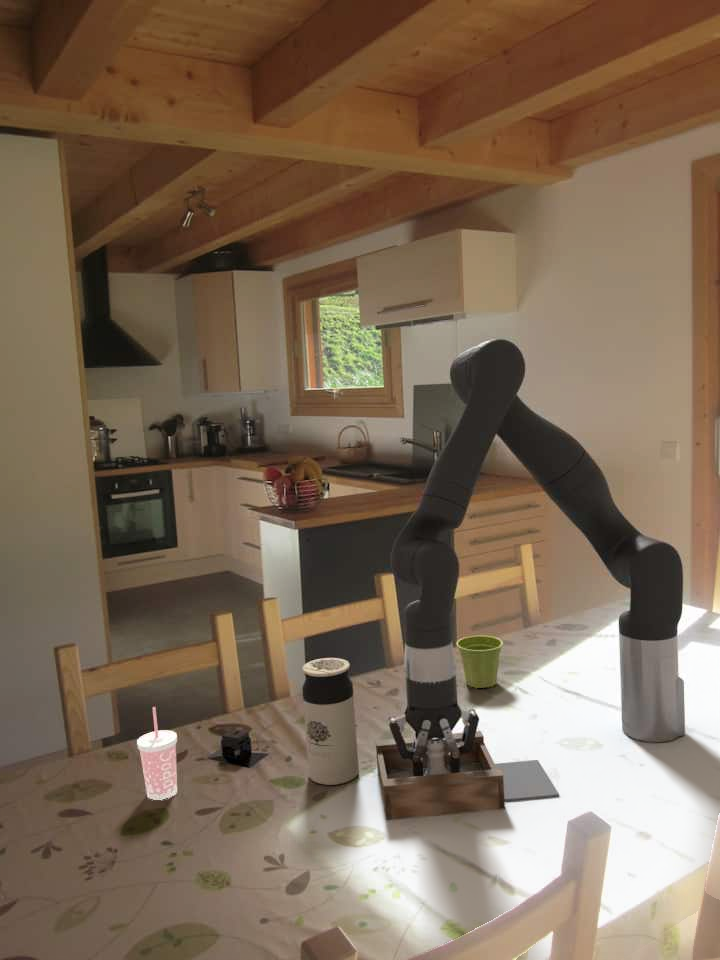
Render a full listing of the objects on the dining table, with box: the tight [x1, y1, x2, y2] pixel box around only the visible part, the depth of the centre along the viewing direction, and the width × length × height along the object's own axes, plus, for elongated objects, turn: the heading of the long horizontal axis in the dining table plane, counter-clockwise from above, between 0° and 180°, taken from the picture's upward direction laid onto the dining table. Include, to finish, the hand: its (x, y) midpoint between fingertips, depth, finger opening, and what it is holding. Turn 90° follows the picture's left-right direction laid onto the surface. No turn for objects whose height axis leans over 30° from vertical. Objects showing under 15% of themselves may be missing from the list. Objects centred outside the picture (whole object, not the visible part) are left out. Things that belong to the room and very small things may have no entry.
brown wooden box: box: [375, 730, 506, 821], centre depth 118 cm, size 17×15×5 cm
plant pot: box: [456, 635, 504, 689], centre depth 159 cm, size 9×9×9 cm
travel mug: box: [301, 657, 360, 786], centre depth 124 cm, size 8×8×18 cm
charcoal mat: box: [494, 759, 560, 802], centre depth 119 cm, size 8×11×1 cm
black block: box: [206, 728, 270, 769], centre depth 133 cm, size 12×7×5 cm, turn 61°
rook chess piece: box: [424, 738, 449, 776], centre depth 118 cm, size 4×4×8 cm
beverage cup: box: [136, 706, 178, 801], centre depth 122 cm, size 6×6×14 cm
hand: (436, 780), depth 118 cm, fingers closed on rook chess piece, 4 cm apart
